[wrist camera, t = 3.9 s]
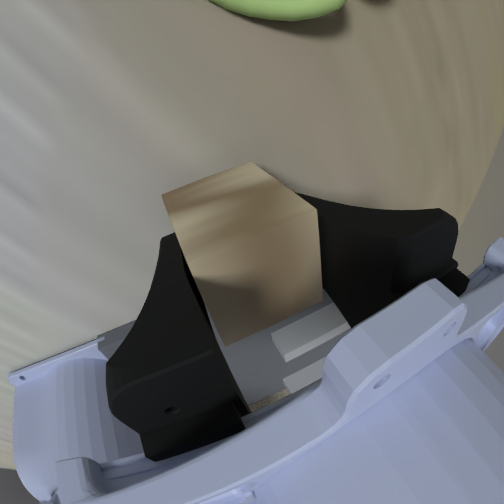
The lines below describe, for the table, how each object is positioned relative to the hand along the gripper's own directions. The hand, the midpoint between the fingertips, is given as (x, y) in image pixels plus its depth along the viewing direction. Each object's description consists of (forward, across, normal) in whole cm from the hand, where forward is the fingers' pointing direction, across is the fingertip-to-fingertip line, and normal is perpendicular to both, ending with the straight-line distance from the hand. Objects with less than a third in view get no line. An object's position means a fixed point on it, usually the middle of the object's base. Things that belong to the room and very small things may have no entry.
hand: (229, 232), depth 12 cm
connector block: (+2, 0, 0) cm, 2 cm away
